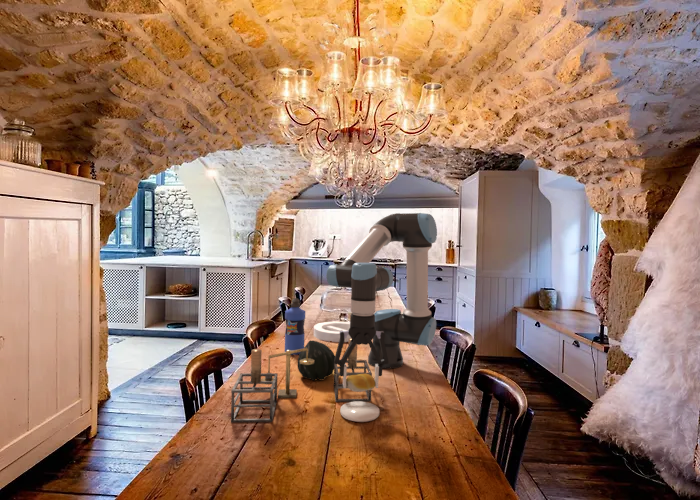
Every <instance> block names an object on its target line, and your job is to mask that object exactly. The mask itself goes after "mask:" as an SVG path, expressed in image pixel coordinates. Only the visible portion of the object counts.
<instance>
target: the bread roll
mask: <svg viewBox="0 0 700 500" xmlns="http://www.w3.org/2000/svg"><path fill="white" fill-rule="evenodd" d="M346 387H347V388H346V389H348V390H350V391H352V392H355V393H359V392H360V393H361V392H366V390H368V391H369V390H371V391H372V390H373V389H374V388H376V387H375V377H373V375H372V376H371V375H369V374H358V375H350V376H347V377H346Z"/></svg>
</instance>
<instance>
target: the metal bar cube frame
mask: <svg viewBox="0 0 700 500" xmlns="http://www.w3.org/2000/svg"><path fill="white" fill-rule="evenodd" d="M351 340H352V338H349V342H348V345H349V344H350V341H351ZM357 358H358V345H357V344H356V346H355V347H354V348H353V350H352V352H351V354H350V356H349V357H348V359H347V361H346V363H345V364H347V365H346V366H347V370H351V372H350V371H349V372H348V371H347V372H346V377H349V376H350V375H358V374H369V375H371V376H372V377H373V373H372V371H371V368H370V366H369V363H368V360H367V359H361V360H359V359H357ZM359 363H360V364H361V363H362V364H364V365H363V366H357V365H358V364H359ZM356 369H357V370H358V369H359V370H361V369H362V370H363V371H360V372H359V371H355V370H356ZM339 370H340V366H338V364H335V362H334V370H333V391H334V398H335V399H334V400H335V403H349V402H354V401H363V402H368V403H371V402H372V390H366V391H365V394H366V397H367V398H339V389H344V388H343V383H339V382H340V381H339V380H340V379H339V377H341V376H340V371H339ZM345 389H348V388H347V387H346V388H345Z"/></svg>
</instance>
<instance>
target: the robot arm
mask: <svg viewBox="0 0 700 500" xmlns="http://www.w3.org/2000/svg"><path fill="white" fill-rule="evenodd" d="M437 238H438V228H437V223H436V219H435V218H434V217H433V215H432V214H430V213H424V212H417V213H416V212H415V213H412V212H411V213H400V212H398V213H396V212H395V213H392V214H388V215H386V216H385V217H382V218H381V219H380V220H378V221H376V222H375V223H374V224H373V225H372V226H371V227H370V229H369V231H368V234H367V235H366V236H365V237H364V238H363V239H362V240H361V241H360V243H359V244H358V245H357V246H356V247H355V248H354V249H353V250H352V251H351V252H350V253H349V255H347V257H346V258H345V259H344V260H343V261H342V262H341V263H340V264H337V263H336V264H331V265H329V267H328V268H327V269H326V273H325V274H326V276H325V277H326V281H327V283H328V285H330V286H331V287H338V288H345V289H346V288H349V289H351V291H350V292H351V293H350V295H351V296H350V312H351V313H350V316H349V317H350V318H349V322H350V329H349V330H348V331H342V330H341V331H340V340H339V342H338V344H337V347H336V351H335V354H334V355H335V358H334V362H335V364H337V366H339V367H340V369H339V372H340V376H339V377H342V384H343V388H342V389H347V388H346V379H347V376H346V372H348V371H347V370H348V369H347V366H348V365H347V363H346V361H347V360H348V357H349V356H350V354H351V352H352V350H353V348H354V347H355V346H356V344H357V346H358V345H368V346H369V347H370V351H369V354H368V358H367V363H368V365H370V366H371V367H374V380H375V387H374V388H375V389H379V377H382V376H383V369H396V368H397V369H398V368H401V367H402V366H403V365H404V357H403V354H402V353H403V352H402V350H401V347H400V342H401V343H406V344H411V345H417V346H425V347H426V346H430V345H431V344H432V342H433V340H434V337H435V334H436V330H437V320H436V318H435V317H432V311H431V310H430V309H429V307H428V306H429V303H428V302H429V301H428V299H429V298H428V297H429V292H428V291H429V250H431V248H432V246H433V244H434V243H436V241H437ZM391 242H392V243H394V242H399V243H401V242H402V248H403V250H405V251H406V307H405V309H403V311H401V309H398V308H388V309H387V308H386V309H380V310H376V299H377V298H376V297H377V296H376V295H377V294H376V293H377V292H379V291H385V290H387V289H388V288H390V287H391V286H392V284H393V282H394V275H393V272H392V271H391V269H389V268H388V267H383V266H378V267H377V264H376V263H373V262H372V260H373V259H374V258H375V257H376V255H378V254H379V252H380V251H381V250H382V248H383V247H385V246H388V245H389V244H390V243H391ZM347 335H350V337H351V338H352V340H351V341H350V344H349V343H348V346H347V347H346V350H345V351H344V353H343V355H342V351H343V347H344V344H345V342H344V339H345V338H347ZM341 355H342V357H341Z"/></svg>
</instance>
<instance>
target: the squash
mask: <svg viewBox="0 0 700 500" xmlns="http://www.w3.org/2000/svg"><path fill="white" fill-rule="evenodd" d="M304 348H307V349H308V359H313V360H314V364H311V365H302V364H300V360H301V359H306V353H307V351H302V352H301V353H300V354H299V355H298V357H297V370H298V372H299V373H300V375H301V376H302V377H303V378H304V379H308V380H309V379H310V380H311V381H316V380H319V381H323V380H325V379H326V378H327V377H330V376H331V375H333V374H334V358H335V354H334V353H335V352H333V351H332V349H331V348H330V347H329V346H328V345H326V344H325V343H323V342H320V341H317V340H308V341H307V343H306V345H304Z"/></svg>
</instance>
